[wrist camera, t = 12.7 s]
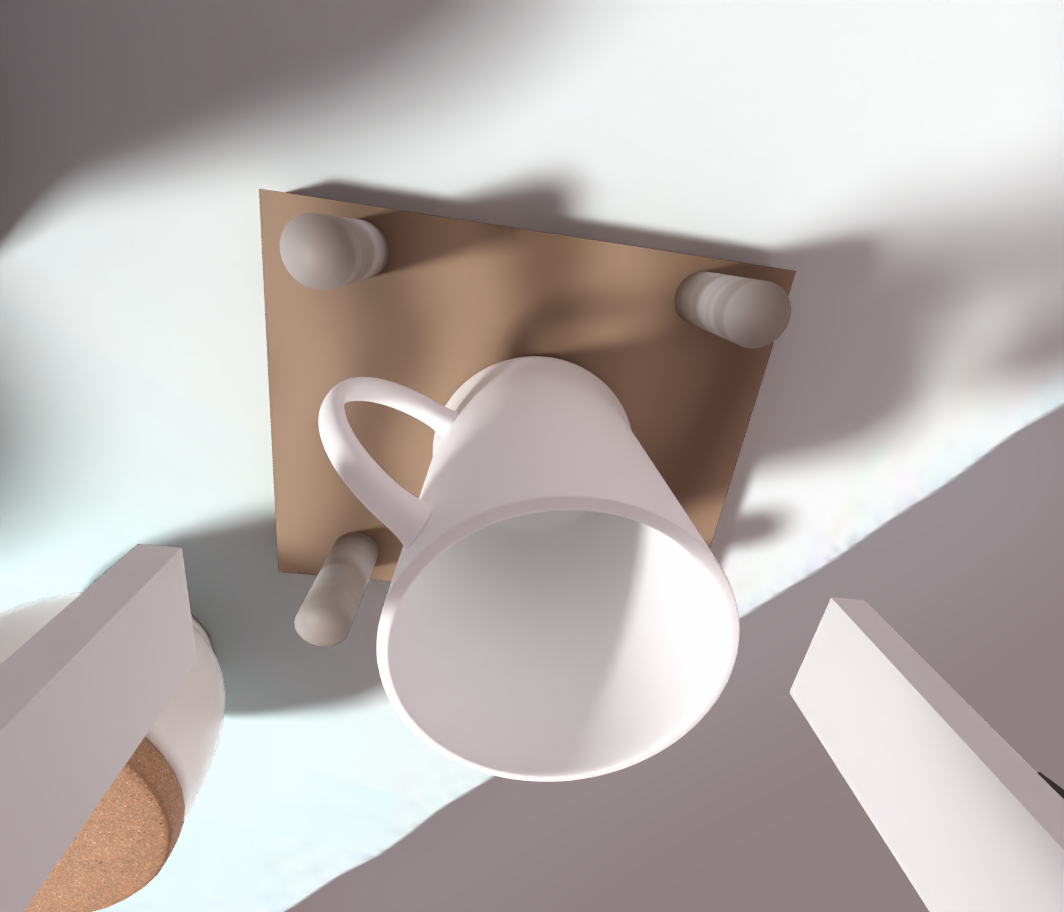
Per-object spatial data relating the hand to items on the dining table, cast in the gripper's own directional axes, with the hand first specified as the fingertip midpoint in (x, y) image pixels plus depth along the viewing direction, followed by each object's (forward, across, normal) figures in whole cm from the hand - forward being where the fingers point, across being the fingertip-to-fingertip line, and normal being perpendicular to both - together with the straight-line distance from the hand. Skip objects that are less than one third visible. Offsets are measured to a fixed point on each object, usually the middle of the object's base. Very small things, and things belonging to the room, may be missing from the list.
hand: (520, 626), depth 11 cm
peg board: (+14, 0, 0) cm, 14 cm away
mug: (+12, 0, 0) cm, 12 cm away
